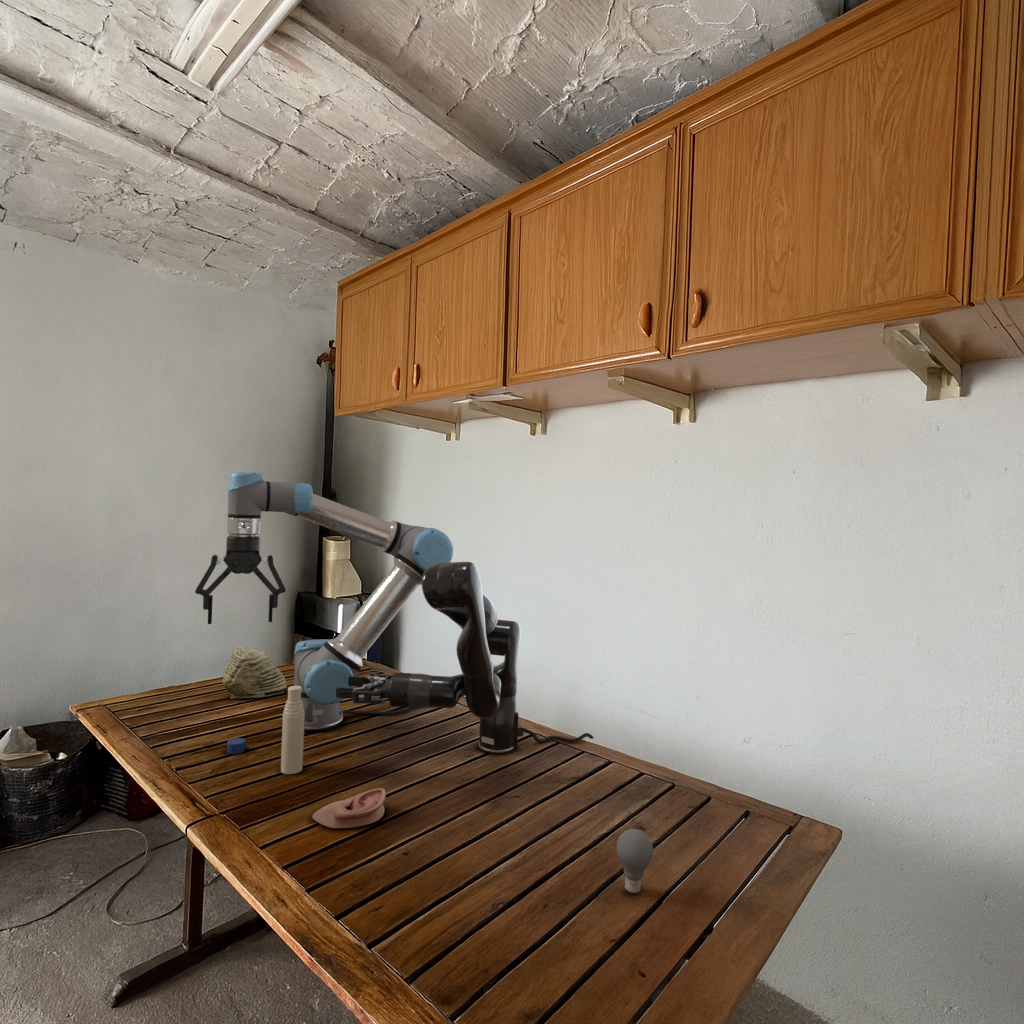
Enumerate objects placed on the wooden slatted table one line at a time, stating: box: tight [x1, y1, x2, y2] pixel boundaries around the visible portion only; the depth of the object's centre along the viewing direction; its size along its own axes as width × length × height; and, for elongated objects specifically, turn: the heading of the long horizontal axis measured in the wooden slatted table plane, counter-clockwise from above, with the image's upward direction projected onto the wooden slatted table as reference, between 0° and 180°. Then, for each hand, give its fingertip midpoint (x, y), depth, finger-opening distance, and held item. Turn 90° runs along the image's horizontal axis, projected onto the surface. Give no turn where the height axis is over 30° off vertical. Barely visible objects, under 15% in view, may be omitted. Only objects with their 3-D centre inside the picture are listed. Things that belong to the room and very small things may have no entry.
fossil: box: [222, 646, 288, 699], centre depth 198 cm, size 9×18×15 cm, turn 132°
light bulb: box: [615, 828, 654, 894], centre depth 106 cm, size 6×6×10 cm
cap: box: [226, 737, 246, 755], centre depth 155 cm, size 4×4×2 cm
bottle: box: [280, 685, 305, 775], centre depth 146 cm, size 5×5×19 cm
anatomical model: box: [311, 787, 387, 829], centre depth 126 cm, size 13×4×12 cm
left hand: (240, 622), depth 155 cm, fingers open, 13 cm apart
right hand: (342, 686), depth 145 cm, fingers open, 8 cm apart
